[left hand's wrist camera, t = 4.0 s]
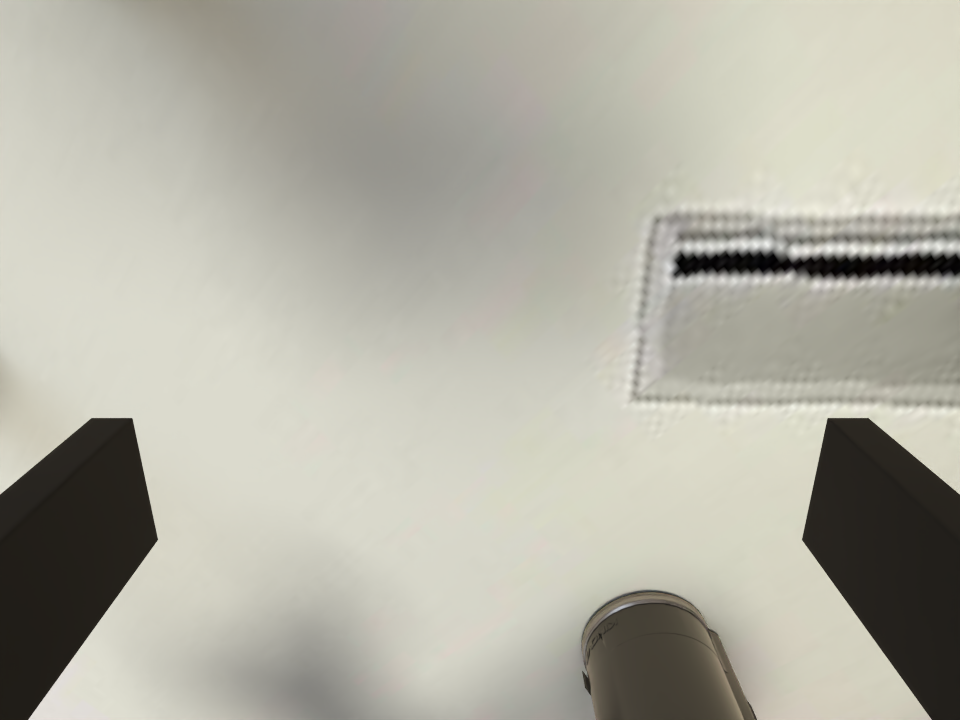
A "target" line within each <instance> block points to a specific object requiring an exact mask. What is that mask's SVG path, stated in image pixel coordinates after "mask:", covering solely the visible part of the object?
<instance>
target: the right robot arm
mask: <svg viewBox="0 0 960 720" xmlns="http://www.w3.org/2000/svg"><path fill="white" fill-rule="evenodd" d="M582 654H583V659H584V664H585V668H586V670H587V674H588V678H587V676H586V675H585V674H584V672H583V671H582V672H583V678H584V684H585V688H586V689H587V691H588V692H589V693H590V695H591V696H592V702H593V707H594V712H595V718H596V720H757V719H756V716H755V714H754V712H753V709H752V707H751V705H750V704H749V703H748V702H747V700H746V698H745V696H744V693H743V691H742V689H741V687H740V684H739V682H738V680H737V678H736V675H735V673H734V671H733V668H732V666H731V664H730V662H729V659H728V657H727V655H726V652H725V650H724V648H723V646H722V643H721V641H720V639H719V637H718V635H717V634H716V633H714V632H711V631H710V630H708V627H707V625H706V623H705V620H704V618H703V617H702V615H701V614H700V613H699V611H698V610H697V609H696V608H695V607H694V606H692V605H691V604H690V603H688V602H686V601H685V600H683V599H681V598H678V597H676V596H673V595H669V594H665V593H657V592H645V593H636V594H632V595H628V596H624V597H622V598H619V599H617V600H615V601H613V602H611V603H609V604H607V605H606V606H605V607H603V608H602V609H601V610H599V611H598V612H597V613H596V614H595V615H594V616H593V618H592V619H591V620H590V622H589V623H588V625H587V627H586V629H585V631H584V634H583V638H582Z"/></svg>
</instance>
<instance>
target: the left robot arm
mask: <svg viewBox="0 0 960 720" xmlns="http://www.w3.org/2000/svg"><path fill="white" fill-rule="evenodd" d="M157 540H158V538H157V533H156V529H155V524H154V519H153V514H152V510H151V505H150V500H149V495H148V491H147V486H146V481H145V476H144V472H143V467H142V462H141V457H140V453H139V448H138V443H137V438H136V434H135V429H134V424H133V419H132V418H91V419H90V420H89V421H88V422H87V423H85V424H84V425H83V426H82V427H81V428H79V429H78V430H77V431H76V432H75V433H73V434H72V435H71V436H70V437H69V438H67V439H66V440H65V441H64V442H63V443H62V444H60V445H59V446H58V447H57V448H56V449H54V450H53V451H52V452H51V453H50V454H48V455H47V456H46V457H45V458H44V459H42V460H41V461H40V462H39V463H38V464H36V465H35V466H34V467H33V468H32V469H30V470H29V471H28V472H27V473H26V474H24V475H23V476H22V477H21V478H20V479H18V480H17V481H16V482H15V483H14V484H12V485H11V486H10V487H9V488H8V489H6V490H5V491H4V492H3V493H2V494H0V720H28V719H29V718H30V716H31V715H32V714H33V712H34V711H35V709H36V708H37V707H38V705H39V704H40V702H41V701H42V700H43V698H44V697H45V696H46V694H47V693H48V691H49V690H50V689H51V687H52V686H53V684H54V683H55V682H56V680H57V679H58V677H59V676H60V675H61V673H62V672H63V671H64V669H65V668H66V666H67V665H68V664H69V662H70V661H71V659H72V658H73V657H74V655H75V654H76V653H77V651H78V650H79V648H80V647H81V646H82V644H83V643H84V641H85V640H86V639H87V637H88V636H89V635H90V633H91V632H92V630H93V629H94V628H95V626H96V625H97V623H98V622H99V621H100V619H101V618H102V617H103V615H104V614H105V612H106V611H107V610H108V608H109V607H110V605H111V604H112V603H113V601H114V600H115V599H116V597H117V596H118V594H119V593H120V592H121V590H122V589H123V587H124V586H125V585H126V583H127V582H128V581H129V579H130V578H131V576H132V575H133V574H134V572H135V571H136V569H137V568H138V567H139V565H140V564H141V563H142V561H143V560H144V558H145V557H146V556H147V554H148V553H149V551H150V550H151V549H152V547H153V546H154V545H155V543H156V542H157ZM802 540H803V542H804V543H805V545H806V546H807V547H808V549H809V550H810V551H811V553H812V554H813V556H814V557H815V558H816V560H817V561H818V563H819V564H820V565H821V567H822V568H823V569H824V571H825V572H826V574H827V575H828V576H829V578H830V579H831V581H832V582H833V583H834V585H835V586H836V587H837V589H838V590H839V592H840V593H841V594H842V596H843V597H844V599H845V600H846V601H847V603H848V604H849V605H850V607H851V608H852V610H853V611H854V612H855V614H856V615H857V617H858V618H859V619H860V621H861V622H862V623H863V625H864V626H865V628H866V629H867V630H868V632H869V633H870V635H871V636H872V637H873V639H874V640H875V641H876V643H877V644H878V646H879V647H880V648H881V650H882V651H883V653H884V654H885V655H886V657H887V658H888V659H889V661H890V662H891V664H892V665H893V666H894V668H895V669H896V671H897V672H898V673H899V675H900V676H901V677H902V679H903V680H904V682H905V683H906V684H907V686H908V687H909V689H910V690H911V691H912V693H913V694H914V696H915V697H916V698H917V700H918V701H919V702H920V704H921V705H922V707H923V708H924V709H925V711H926V712H927V714H928V715H929V716H930V718H931V719H932V720H960V494H958V493H957V492H956V491H955V490H954V489H952V488H951V487H950V486H949V485H948V484H946V483H945V482H944V481H943V480H942V479H940V478H939V477H938V476H937V475H936V474H934V473H933V472H932V471H931V470H930V469H928V468H927V467H926V466H925V465H924V464H922V463H921V462H920V461H919V460H918V459H916V458H915V457H914V456H913V455H912V454H910V453H909V452H908V451H907V450H906V449H904V448H903V447H902V446H901V445H900V444H898V443H897V442H896V441H895V440H894V439H893V438H891V437H890V436H889V435H888V434H887V433H885V432H884V431H883V430H882V429H881V428H879V427H878V426H877V425H876V424H875V423H873V422H872V421H871V420H870V419H869V418H828V419H827V424H826V429H825V434H824V438H823V443H822V448H821V453H820V457H819V462H818V467H817V472H816V476H815V481H814V486H813V491H812V495H811V500H810V505H809V510H808V514H807V519H806V524H805V529H804V533H803V538H802Z"/></svg>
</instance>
